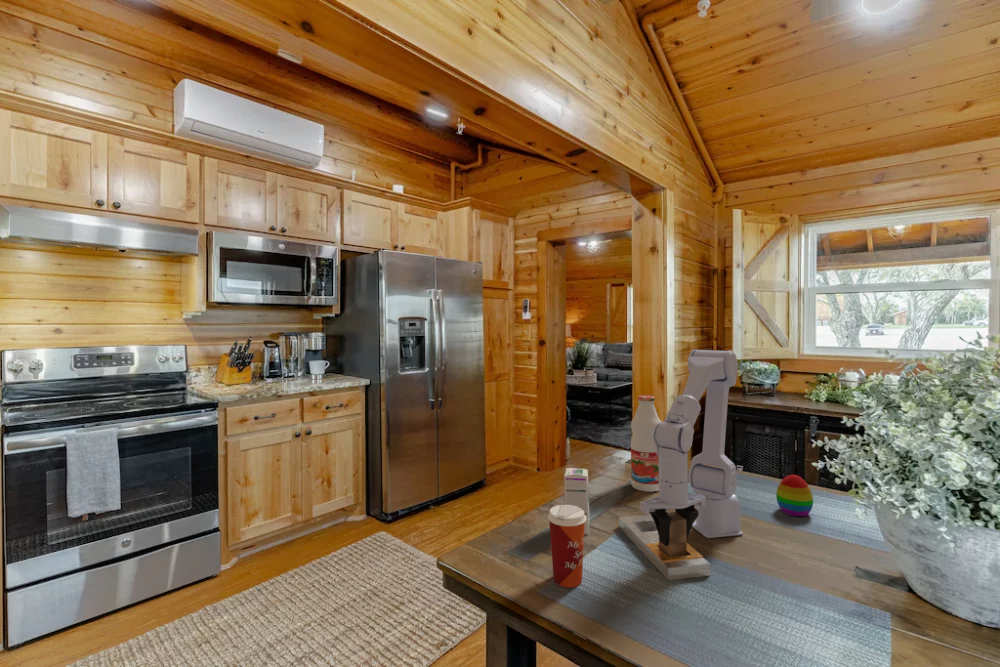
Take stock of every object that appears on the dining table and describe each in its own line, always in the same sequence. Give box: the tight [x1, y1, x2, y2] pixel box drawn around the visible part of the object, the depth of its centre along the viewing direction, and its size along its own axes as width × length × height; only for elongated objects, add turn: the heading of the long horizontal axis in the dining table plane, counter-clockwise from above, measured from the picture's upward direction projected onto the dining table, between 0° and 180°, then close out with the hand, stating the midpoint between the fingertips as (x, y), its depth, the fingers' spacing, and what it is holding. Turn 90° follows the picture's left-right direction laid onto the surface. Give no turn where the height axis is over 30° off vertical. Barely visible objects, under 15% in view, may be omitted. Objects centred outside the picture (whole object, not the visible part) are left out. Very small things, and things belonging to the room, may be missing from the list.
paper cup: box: [547, 504, 586, 589], centre depth 93 cm, size 8×8×14 cm
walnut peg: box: [659, 511, 688, 557], centre depth 99 cm, size 4×4×9 cm
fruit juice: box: [630, 394, 662, 493], centre depth 142 cm, size 9×9×28 cm
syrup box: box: [563, 467, 590, 536], centre depth 115 cm, size 6×6×14 cm
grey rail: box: [618, 513, 711, 581], centre depth 104 cm, size 9×24×3 cm, turn 9°
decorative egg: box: [775, 474, 814, 517], centre depth 122 cm, size 8×8×10 cm
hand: (673, 542), depth 98 cm, fingers closed on walnut peg, 4 cm apart
